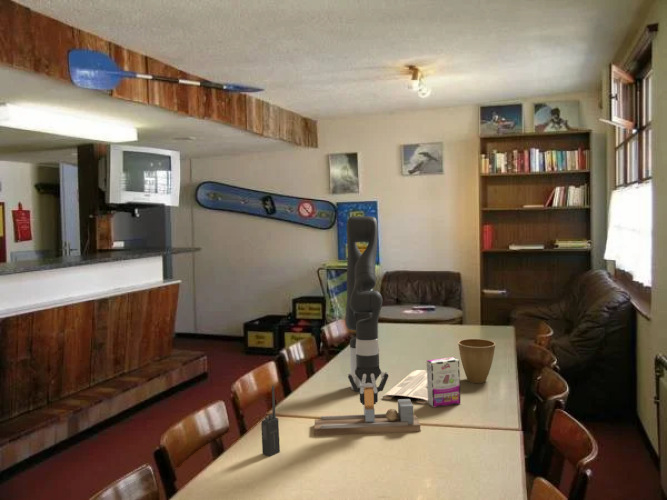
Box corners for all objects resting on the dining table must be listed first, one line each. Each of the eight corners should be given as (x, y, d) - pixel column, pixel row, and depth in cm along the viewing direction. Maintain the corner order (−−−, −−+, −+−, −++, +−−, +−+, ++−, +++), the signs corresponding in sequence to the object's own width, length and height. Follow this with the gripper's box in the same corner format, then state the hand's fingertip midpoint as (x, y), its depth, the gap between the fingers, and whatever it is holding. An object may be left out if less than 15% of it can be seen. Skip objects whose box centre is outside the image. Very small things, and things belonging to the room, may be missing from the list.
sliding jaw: (363, 417, 192) (363, 385, 192) (372, 417, 192) (372, 384, 192) (365, 424, 186) (364, 391, 185) (374, 424, 186) (374, 391, 185)
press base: (314, 425, 193) (314, 401, 193) (415, 421, 194) (415, 397, 194) (314, 435, 184) (313, 410, 184) (420, 431, 185) (419, 406, 185)
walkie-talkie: (272, 449, 174) (270, 384, 173) (280, 451, 172) (278, 385, 171) (261, 454, 171) (258, 388, 170) (269, 457, 169) (266, 390, 167)
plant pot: (454, 383, 235) (453, 344, 234) (464, 374, 248) (463, 337, 247) (491, 387, 228) (490, 347, 227) (499, 377, 241) (498, 340, 241)
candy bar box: (454, 400, 215) (453, 356, 214) (460, 404, 210) (460, 359, 209) (426, 403, 212) (426, 359, 211) (432, 407, 207) (432, 362, 206)
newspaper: (427, 405, 211) (427, 398, 211) (378, 399, 219) (378, 392, 219) (452, 378, 244) (452, 372, 244) (409, 374, 252) (408, 368, 252)
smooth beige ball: (385, 419, 191) (385, 407, 191) (397, 418, 191) (397, 406, 191) (386, 423, 187) (386, 411, 187) (399, 422, 187) (398, 410, 187)
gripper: (387, 348, 192) (388, 399, 193) (345, 349, 191) (346, 401, 192) (390, 353, 184) (391, 406, 185) (346, 355, 184) (347, 408, 185)
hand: (368, 403), depth 189 cm, fingers closed on sliding jaw, 3 cm apart
